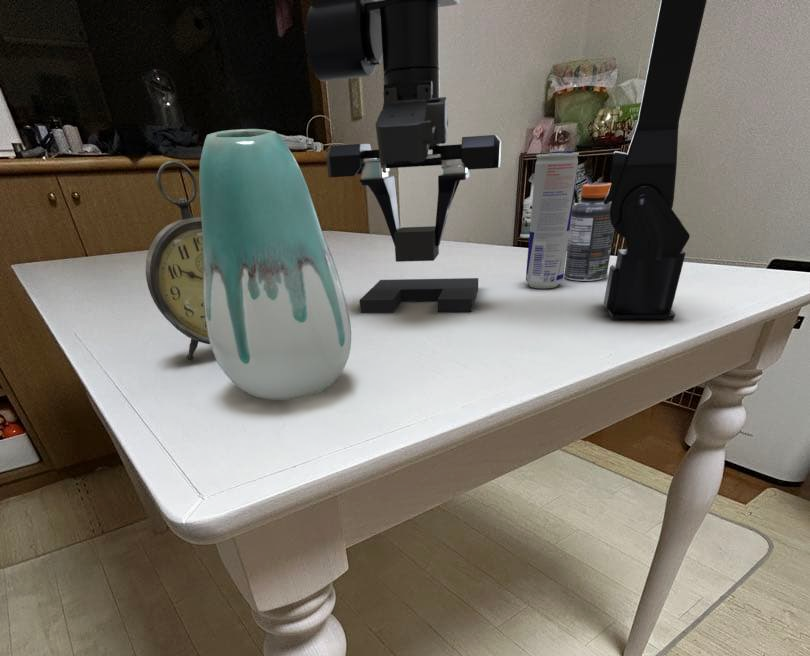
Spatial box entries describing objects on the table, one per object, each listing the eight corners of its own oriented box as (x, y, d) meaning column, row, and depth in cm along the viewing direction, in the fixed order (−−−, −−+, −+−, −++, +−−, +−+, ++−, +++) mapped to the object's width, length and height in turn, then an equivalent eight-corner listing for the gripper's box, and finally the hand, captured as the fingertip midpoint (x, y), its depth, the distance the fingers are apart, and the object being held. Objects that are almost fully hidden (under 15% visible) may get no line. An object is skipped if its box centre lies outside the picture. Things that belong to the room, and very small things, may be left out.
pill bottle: (601, 272, 77) (617, 180, 70) (610, 281, 72) (627, 183, 65) (560, 274, 77) (572, 182, 70) (566, 282, 72) (579, 185, 66)
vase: (337, 414, 40) (296, 118, 29) (200, 411, 42) (114, 132, 31) (369, 364, 49) (347, 124, 38) (255, 363, 51) (203, 134, 40)
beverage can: (564, 281, 73) (581, 149, 64) (560, 290, 69) (577, 150, 60) (527, 281, 74) (539, 152, 65) (522, 289, 70) (533, 153, 61)
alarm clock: (181, 368, 51) (108, 168, 41) (171, 354, 55) (102, 168, 45) (284, 342, 55) (241, 153, 45) (268, 330, 59) (225, 154, 48)
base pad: (478, 289, 72) (478, 277, 71) (471, 312, 62) (471, 298, 61) (381, 291, 74) (380, 279, 73) (360, 312, 65) (359, 299, 64)
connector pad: (438, 254, 64) (438, 226, 62) (433, 260, 60) (433, 231, 58) (402, 255, 64) (401, 227, 63) (395, 261, 61) (394, 232, 59)
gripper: (298, 72, 47) (323, 260, 57) (501, 52, 44) (492, 256, 54) (332, 82, 56) (349, 245, 66) (505, 67, 53) (496, 240, 62)
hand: (417, 246), depth 62 cm, fingers closed on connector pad, 4 cm apart
